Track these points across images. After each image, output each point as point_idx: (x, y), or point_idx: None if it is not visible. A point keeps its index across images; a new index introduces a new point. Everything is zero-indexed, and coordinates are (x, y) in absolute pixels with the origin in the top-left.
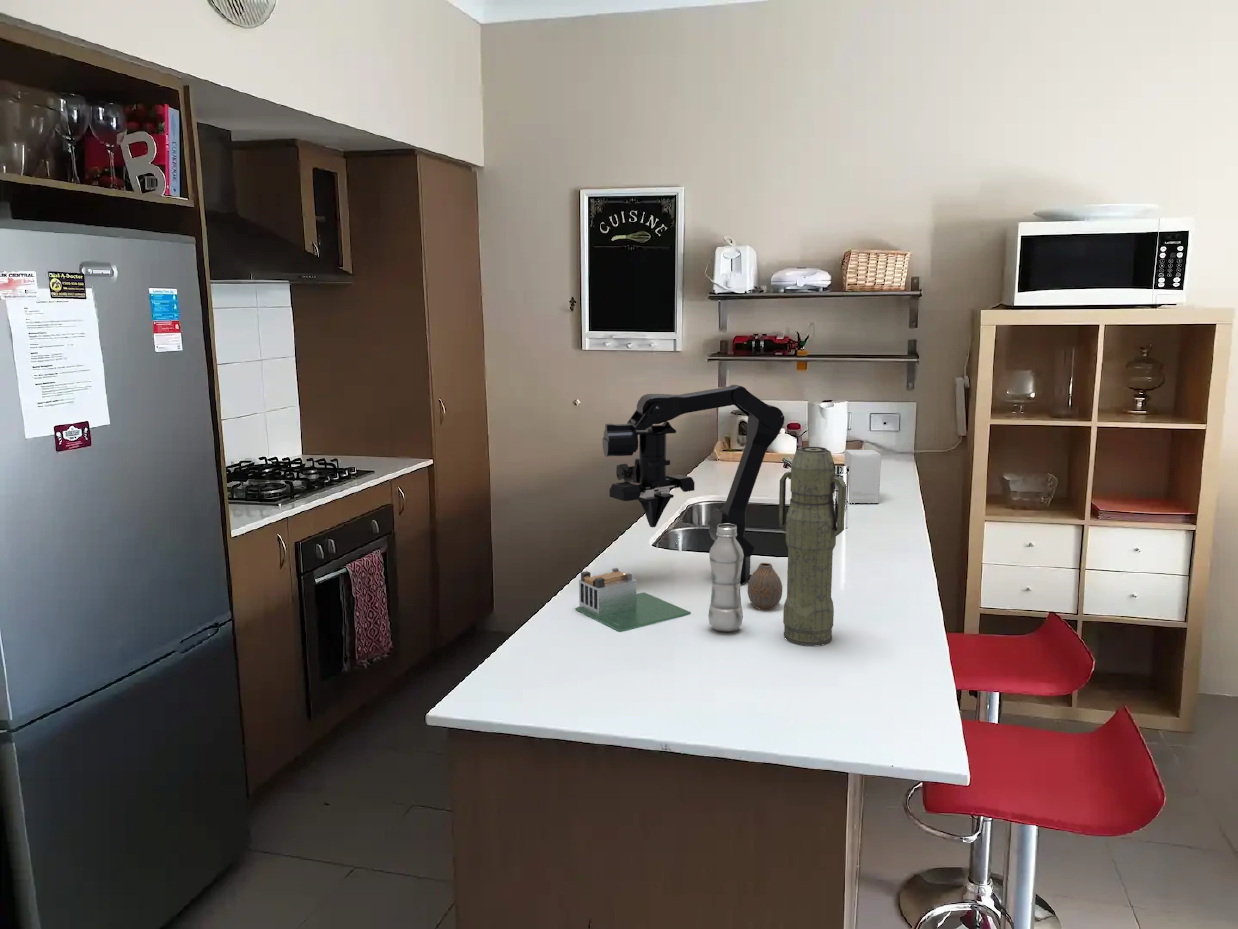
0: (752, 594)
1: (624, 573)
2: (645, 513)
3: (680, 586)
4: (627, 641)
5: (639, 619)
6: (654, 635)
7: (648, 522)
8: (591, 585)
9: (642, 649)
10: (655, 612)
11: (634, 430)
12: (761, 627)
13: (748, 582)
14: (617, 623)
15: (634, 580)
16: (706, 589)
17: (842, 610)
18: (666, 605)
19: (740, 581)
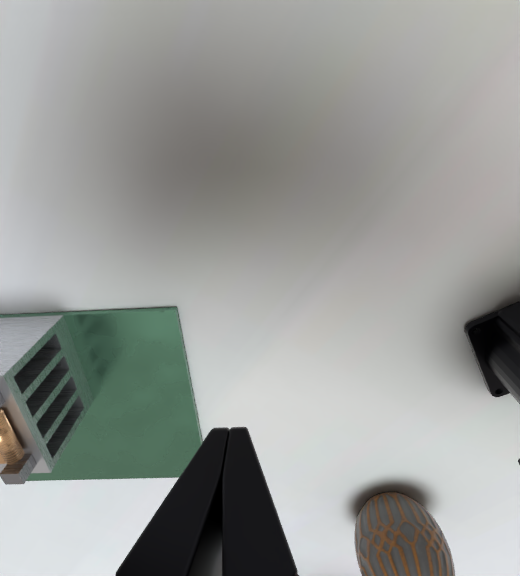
0: (355, 548)
1: (4, 454)
2: (131, 558)
3: (330, 304)
4: (9, 510)
5: (69, 459)
6: (74, 512)
7: (192, 459)
8: None
9: (27, 541)
10: (126, 445)
11: None
12: None
13: (378, 554)
14: None
15: (44, 470)
16: (376, 365)
17: (487, 571)
18: (178, 423)
19: (501, 386)
